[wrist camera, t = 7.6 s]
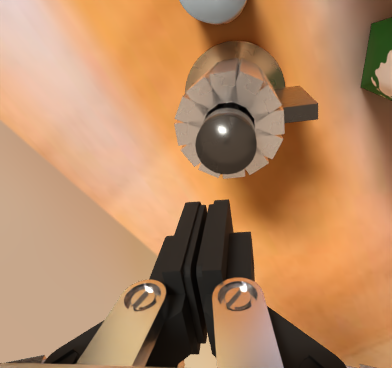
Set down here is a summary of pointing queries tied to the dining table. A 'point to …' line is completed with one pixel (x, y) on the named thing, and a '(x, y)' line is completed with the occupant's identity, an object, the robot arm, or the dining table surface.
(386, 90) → the milk carton
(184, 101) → the cafetiere
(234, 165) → the plunger
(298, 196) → the dining table surface
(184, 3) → the pale blue egg
